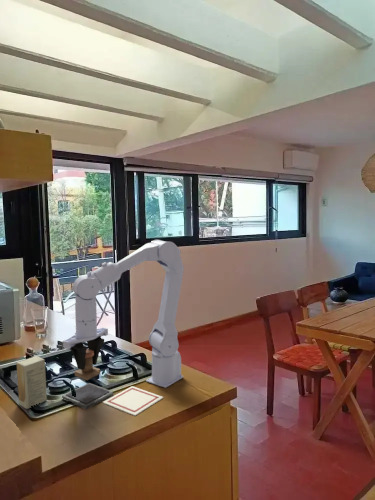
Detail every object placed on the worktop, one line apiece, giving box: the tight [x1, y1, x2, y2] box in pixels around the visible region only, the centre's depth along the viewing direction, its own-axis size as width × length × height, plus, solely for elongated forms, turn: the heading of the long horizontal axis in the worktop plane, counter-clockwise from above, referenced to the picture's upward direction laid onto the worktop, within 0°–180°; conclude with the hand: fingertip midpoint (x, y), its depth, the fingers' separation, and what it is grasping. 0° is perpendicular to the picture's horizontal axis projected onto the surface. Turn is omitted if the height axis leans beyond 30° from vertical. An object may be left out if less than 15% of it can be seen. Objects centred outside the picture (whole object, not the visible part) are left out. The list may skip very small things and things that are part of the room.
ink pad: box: [61, 382, 114, 410], centre depth 111 cm, size 10×10×1 cm
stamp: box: [74, 348, 101, 381], centre depth 111 cm, size 5×5×7 cm
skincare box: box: [16, 355, 48, 410], centre depth 107 cm, size 6×4×12 cm
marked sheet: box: [102, 386, 164, 417], centre depth 110 cm, size 12×12×1 cm
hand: (87, 366), depth 111 cm, fingers closed on stamp, 4 cm apart
